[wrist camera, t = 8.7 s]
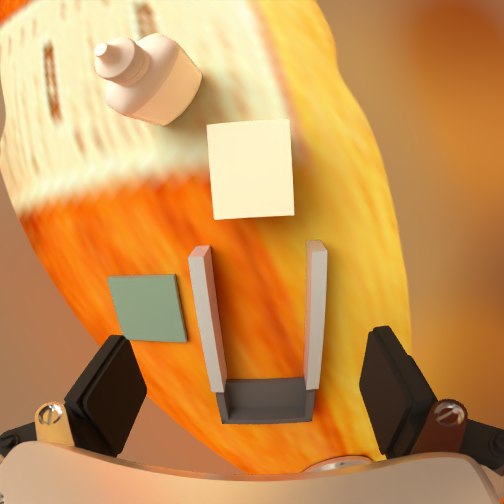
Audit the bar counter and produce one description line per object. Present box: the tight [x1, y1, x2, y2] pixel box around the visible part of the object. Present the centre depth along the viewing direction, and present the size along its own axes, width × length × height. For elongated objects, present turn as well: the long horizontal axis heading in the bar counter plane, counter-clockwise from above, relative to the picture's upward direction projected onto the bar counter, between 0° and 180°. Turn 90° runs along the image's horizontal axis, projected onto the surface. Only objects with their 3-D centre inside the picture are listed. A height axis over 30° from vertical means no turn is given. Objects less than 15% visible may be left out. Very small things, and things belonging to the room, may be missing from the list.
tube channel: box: [188, 240, 327, 392], centre depth 25 cm, size 14×10×3 cm
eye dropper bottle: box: [94, 33, 202, 126], centre depth 15 cm, size 4×6×12 cm
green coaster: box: [107, 274, 188, 342], centre depth 26 cm, size 7×7×1 cm
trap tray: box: [216, 377, 315, 424], centre depth 28 cm, size 5×10×2 cm, turn 94°
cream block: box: [207, 119, 294, 220], centre depth 20 cm, size 6×5×6 cm
